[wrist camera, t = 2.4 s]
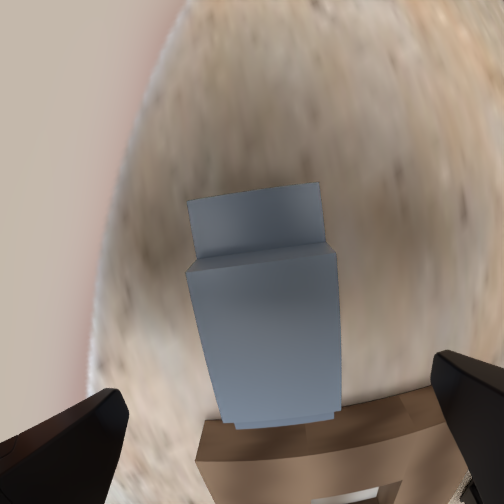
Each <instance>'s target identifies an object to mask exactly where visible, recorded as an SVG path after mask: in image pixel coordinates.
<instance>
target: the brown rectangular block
mask: <svg viewBox="0 0 504 504" xmlns="http://www.w3.org/2000/svg"><path fill="white" fill-rule="evenodd" d="M195 463H196V465H197V467H198V469H199V471H200V473H201V475H202V478H203V480H204V482H205V484H206V486H207V488H208V490H209V492H210V494H211V496H212V498H213V500H214V502H215V504H448V502H449V501H450V499H451V498H452V496H453V494H454V493H455V491H456V489H457V488H458V486H459V484H460V483H461V481H462V479H463V477H464V476H465V474H466V472H467V470H468V467H467V465H466V463H465V461H464V458H463V456H462V454H461V452H460V450H459V448H458V446H457V444H456V442H455V440H454V438H453V436H452V434H451V432H450V430H449V428H448V426H447V423H446V421H445V418H444V416H443V413H442V410H441V408H440V405H439V402H438V400H437V397H436V395H435V392H434V390H433V387H432V385H431V386H428V387H425V388H421V389H418V390H414V391H411V392H407V393H403V394H400V395H396V396H392V397H388V398H384V399H379V400H375V401H371V402H366V403H361V404H356V405H351V406H346V407H341V411H336V412H334V419H330V420H324V421H318V422H311V423H304V424H296V425H287V426H278V427H267V428H254V429H236V428H235V424H234V423H223V421H222V420H209V421H205V423H204V427H203V431H202V435H201V439H200V443H199V447H198V451H197V455H196V459H195ZM378 488H379V489H378ZM376 495H377V496H376Z"/></svg>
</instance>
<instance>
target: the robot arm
mask: <svg viewBox="0 0 504 504" xmlns="http://www.w3.org/2000/svg"><path fill="white" fill-rule="evenodd" d="M430 380H431V385H432V387H433V390H434V392H435V395H436V397H437V400H438V402H439V405H440V408H441V410H442V413H443V416H444V418H445V421H446V423H447V426H448V428H449V430H450V432H451V434H452V436H453V438H454V440H455V442H456V444H457V446H458V448H459V450H460V452H461V454H462V456H463V458H464V461H465V463H466V465H467V467H468V469H469V471H470V474H471V476H472V478H473V479H472V481H471V483H470V484H469V486H468V487H467V489H466V491H465V492H464V494H463V495H462V497H461V498H460V502H464V503H465V504H504V368H501V367H498V366H495V365H492V364H489V363H486V362H483V361H480V360H477V359H474V358H471V357H468V356H465V355H462V354H459V353H456V352H453V351H451V350H444V351H441V352H437V353H436V354H435V355H434V358H433V364H432V370H431V377H430ZM128 419H129V410H128V408H127V405H126V403H125V401H124V399H123V396H122V394H121V392H120V391H119V390H118V389H115V388H105V389H103V390H101V391H100V392H98V393H96V394H94V395H92V396H90V397H89V398H87V399H85V400H83V401H81V402H79V403H78V404H76V405H74V406H72V407H70V408H68V409H66V410H65V411H63V412H61V413H59V414H57V415H55V416H53V417H51V418H49V419H48V420H45V421H44V422H42V423H40V424H38V425H36V426H34V427H32V428H30V429H28V430H26V431H24V432H22V433H20V434H19V435H16V436H14V437H12V438H10V439H8V440H6V441H4V442H1V443H0V504H104V503H105V500H106V497H107V494H108V491H109V488H110V485H111V482H112V479H113V476H114V473H115V470H116V467H117V464H118V461H119V458H120V454H121V450H122V445H123V441H124V436H125V432H126V428H127V423H128Z"/></svg>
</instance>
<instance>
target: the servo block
mask: <svg viewBox="0 0 504 504" xmlns="http://www.w3.org/2000/svg"><path fill="white" fill-rule="evenodd" d="M187 207H188V212H189V218H190V224H191V230H192V235H193V241H194V246H195V252H196V257H197V260H196V261H195V262H194V263H193V264H192V265H191V267H190V268H189V269H188V270H187V271H186V272H185V273H186V278H187V282H188V287H189V292H190V296H191V301H192V305H193V310H194V314H195V318H196V323H197V327H198V331H199V335H200V339H201V344H202V348H203V352H204V356H205V360H206V363H207V367H208V371H209V375H210V379H211V382H212V386H213V390H214V393H215V397H216V400H217V404H218V408H219V411H220V414H221V418H222V421H223V423H234V424H235V428H236V429H254V428H267V427H278V426H287V425H296V424H304V423H311V422H318V421H324V420H330V419H334V412H336V411H341V382H342V379H341V326H340V303H339V286H338V271H337V258H336V252H335V251H334V250H333V249H332V248H331V247H330V246H329V245H328V244H327V243H326V239H325V229H324V219H323V211H322V202H321V194H320V186H319V182H312V183H304V184H295V185H287V186H280V187H272V188H265V189H258V190H251V191H244V192H237V193H231V194H224V195H218V196H212V197H206V198H200V199H194V200H189V201H187Z"/></svg>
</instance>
